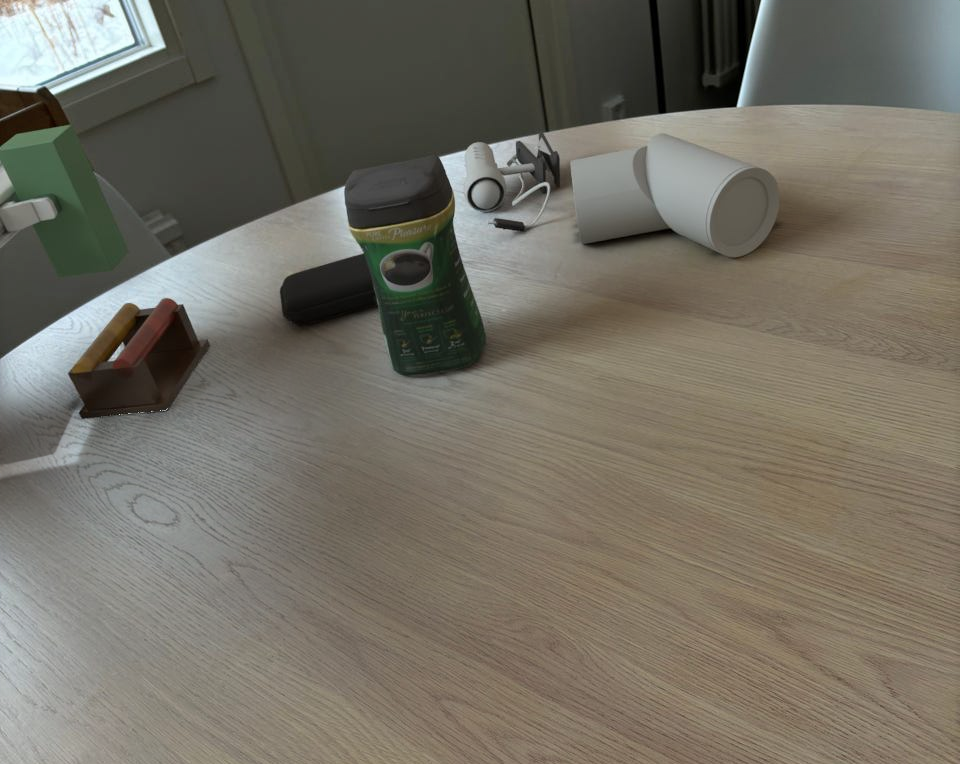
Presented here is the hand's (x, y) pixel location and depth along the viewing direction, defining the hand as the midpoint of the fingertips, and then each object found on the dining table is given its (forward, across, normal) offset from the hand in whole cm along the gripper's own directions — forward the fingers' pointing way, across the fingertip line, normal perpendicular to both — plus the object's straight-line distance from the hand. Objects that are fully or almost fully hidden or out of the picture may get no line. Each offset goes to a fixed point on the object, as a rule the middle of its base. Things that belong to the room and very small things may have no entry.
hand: (69, 193), depth 97 cm
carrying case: (+18, +15, +21) cm, 31 cm away
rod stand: (-2, +1, +20) cm, 21 cm away
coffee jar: (+31, 0, +21) cm, 37 cm away
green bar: (-1, 0, +7) cm, 7 cm away
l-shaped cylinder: (+53, +20, +21) cm, 61 cm away
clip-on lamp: (+34, +35, +21) cm, 53 cm away
